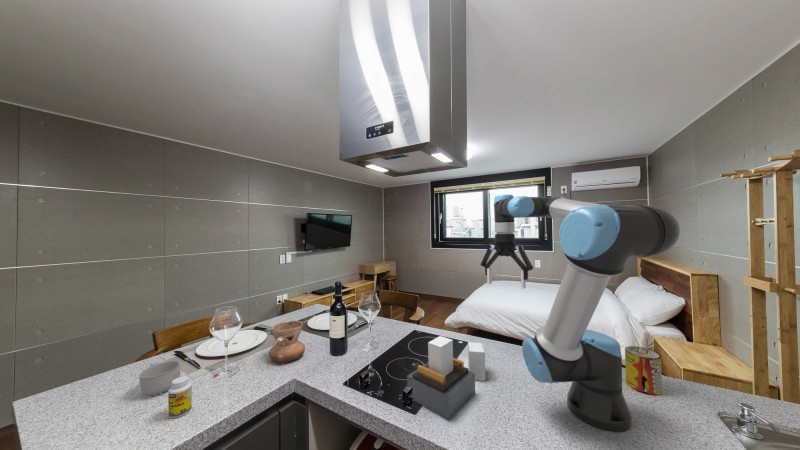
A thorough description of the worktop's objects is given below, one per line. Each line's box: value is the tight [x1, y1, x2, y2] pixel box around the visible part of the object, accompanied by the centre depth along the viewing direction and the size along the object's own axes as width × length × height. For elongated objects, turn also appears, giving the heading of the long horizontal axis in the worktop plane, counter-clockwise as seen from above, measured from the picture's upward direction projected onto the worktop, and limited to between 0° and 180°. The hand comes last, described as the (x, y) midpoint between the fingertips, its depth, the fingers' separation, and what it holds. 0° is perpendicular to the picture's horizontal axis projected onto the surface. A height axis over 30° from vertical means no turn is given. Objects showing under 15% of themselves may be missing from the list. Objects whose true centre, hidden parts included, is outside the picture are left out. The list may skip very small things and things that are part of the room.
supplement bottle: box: [167, 375, 193, 419], centre depth 81 cm, size 6×6×10 cm
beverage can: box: [624, 345, 663, 397], centre depth 89 cm, size 9×9×12 cm
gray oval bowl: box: [138, 359, 181, 396], centre depth 94 cm, size 14×11×8 cm
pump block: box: [427, 335, 454, 376], centre depth 87 cm, size 5×7×10 cm
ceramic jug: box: [268, 320, 306, 363], centre depth 115 cm, size 18×14×14 cm
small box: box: [467, 341, 487, 382], centre depth 98 cm, size 8×6×10 cm
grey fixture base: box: [406, 357, 476, 422], centre depth 87 cm, size 16×16×10 cm
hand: (505, 285), depth 106 cm, fingers open, 13 cm apart
